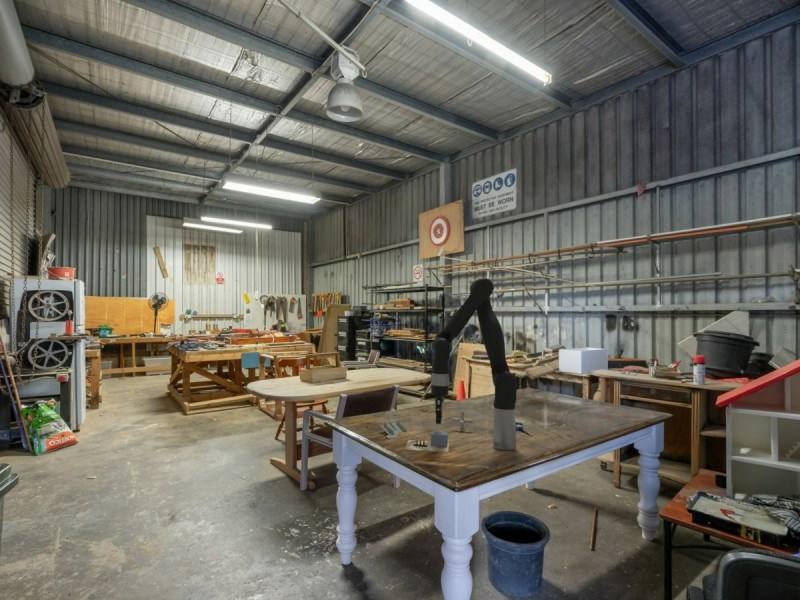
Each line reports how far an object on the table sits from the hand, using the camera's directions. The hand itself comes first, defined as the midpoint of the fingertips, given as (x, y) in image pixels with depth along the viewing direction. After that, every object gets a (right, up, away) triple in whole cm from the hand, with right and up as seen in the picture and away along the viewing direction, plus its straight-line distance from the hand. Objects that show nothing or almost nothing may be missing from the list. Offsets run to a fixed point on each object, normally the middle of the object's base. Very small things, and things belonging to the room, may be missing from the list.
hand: (439, 421), depth 173 cm
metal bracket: (-19, -13, +20) cm, 30 cm away
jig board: (-5, -11, -2) cm, 12 cm away
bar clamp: (+45, -14, +21) cm, 51 cm away
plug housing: (0, -10, -1) cm, 10 cm away
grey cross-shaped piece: (+14, -13, +25) cm, 32 cm away
